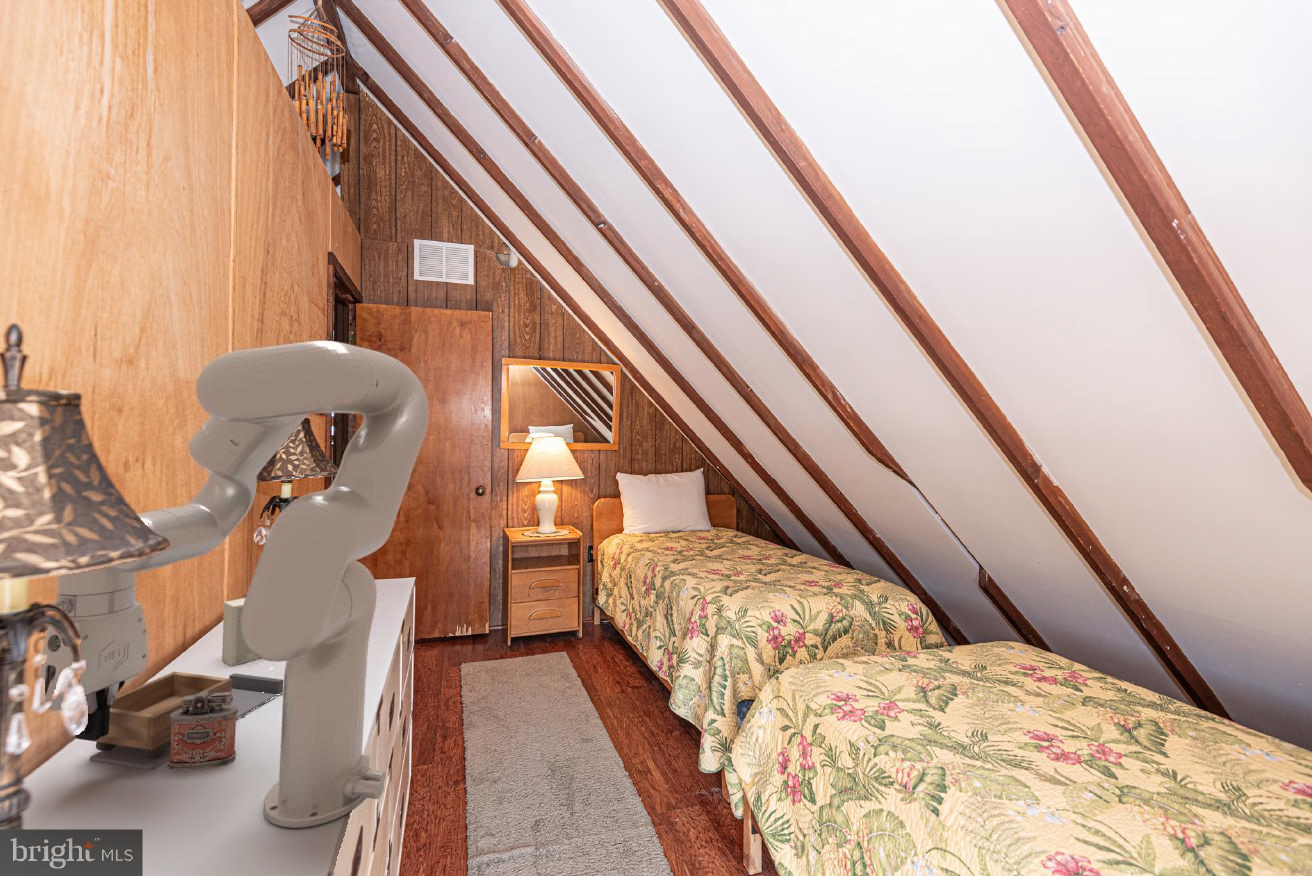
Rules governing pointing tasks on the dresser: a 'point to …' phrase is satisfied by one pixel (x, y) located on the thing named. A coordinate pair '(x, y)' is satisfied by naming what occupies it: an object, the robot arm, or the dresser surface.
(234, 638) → the skincare box
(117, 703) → the cart
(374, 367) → the robot arm
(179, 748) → the lighter
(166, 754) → the track
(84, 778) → the dresser surface
